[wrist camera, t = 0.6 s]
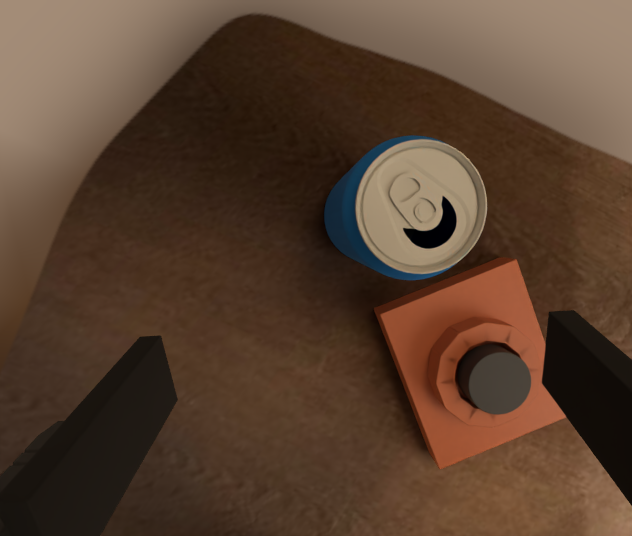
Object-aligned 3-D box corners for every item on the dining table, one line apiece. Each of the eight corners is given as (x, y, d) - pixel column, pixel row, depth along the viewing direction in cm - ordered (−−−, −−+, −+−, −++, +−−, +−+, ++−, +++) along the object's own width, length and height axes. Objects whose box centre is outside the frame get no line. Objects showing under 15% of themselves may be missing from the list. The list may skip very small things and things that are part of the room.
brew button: (448, 357, 27) (459, 366, 25) (505, 334, 27) (519, 342, 25) (468, 412, 27) (480, 424, 26) (524, 389, 27) (540, 400, 26)
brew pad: (373, 308, 30) (385, 320, 26) (500, 256, 30) (532, 261, 26) (429, 452, 31) (449, 485, 27) (550, 402, 31) (588, 428, 27)
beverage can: (361, 279, 30) (408, 314, 18) (304, 208, 29) (313, 195, 17) (431, 222, 30) (526, 219, 18) (376, 150, 29) (436, 95, 17)
